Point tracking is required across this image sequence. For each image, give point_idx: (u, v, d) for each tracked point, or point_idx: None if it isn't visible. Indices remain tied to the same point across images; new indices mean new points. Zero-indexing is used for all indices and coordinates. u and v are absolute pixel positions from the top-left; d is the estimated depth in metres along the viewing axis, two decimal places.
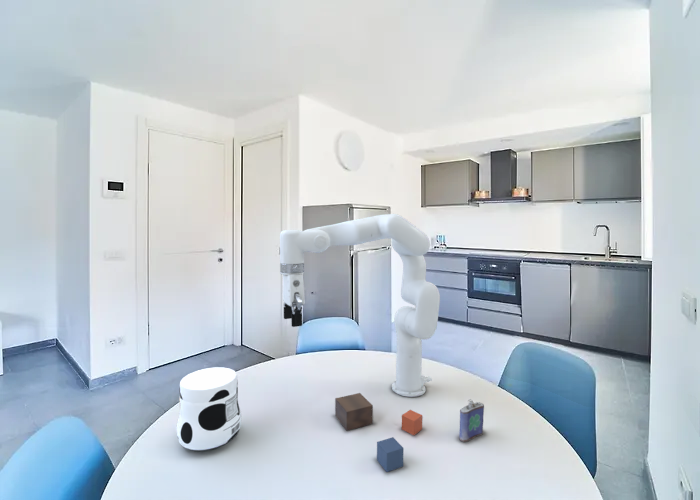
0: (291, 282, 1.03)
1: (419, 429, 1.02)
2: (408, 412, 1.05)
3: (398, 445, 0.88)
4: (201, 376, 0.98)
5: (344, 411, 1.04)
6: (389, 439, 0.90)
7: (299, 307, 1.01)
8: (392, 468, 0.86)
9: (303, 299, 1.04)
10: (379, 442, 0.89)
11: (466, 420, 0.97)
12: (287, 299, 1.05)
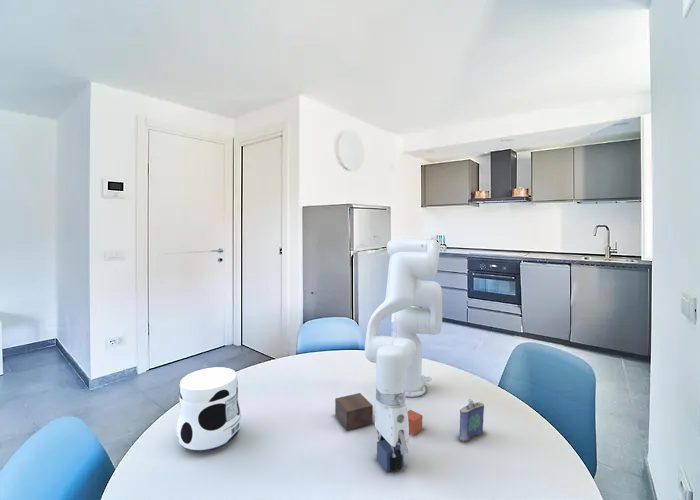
0: (395, 418, 0.83)
1: (419, 429, 1.02)
2: (408, 412, 1.05)
3: None
4: (201, 376, 0.98)
5: (344, 411, 1.04)
6: None
7: (403, 453, 0.83)
8: None
9: (408, 436, 0.84)
10: (379, 442, 0.89)
11: (466, 420, 0.97)
12: (387, 436, 0.85)
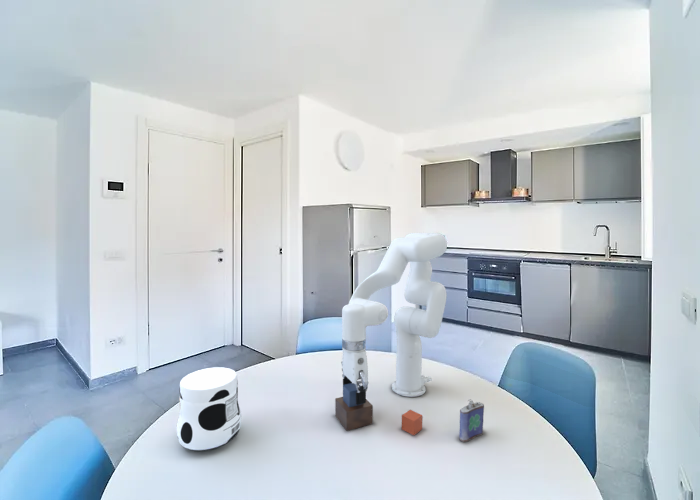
0: (356, 360, 1.02)
1: (419, 429, 1.02)
2: (408, 412, 1.05)
3: (359, 387, 1.07)
4: (201, 376, 0.98)
5: (344, 411, 1.04)
6: (353, 383, 1.10)
7: (365, 387, 1.00)
8: (354, 404, 1.05)
9: (367, 376, 1.04)
10: (344, 385, 1.08)
11: (466, 420, 0.97)
12: (350, 376, 1.04)
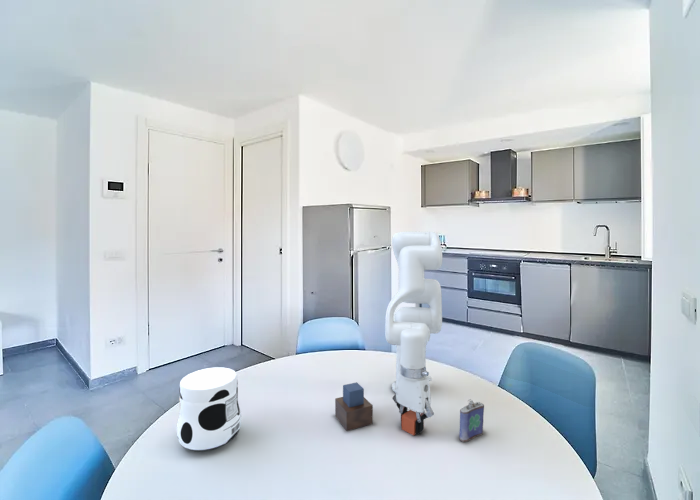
0: (422, 388, 0.98)
1: None
2: (408, 412, 1.05)
3: (360, 387, 1.07)
4: (201, 376, 0.98)
5: (344, 411, 1.04)
6: (353, 383, 1.10)
7: (428, 417, 0.99)
8: (354, 405, 1.05)
9: (430, 402, 1.01)
10: (344, 385, 1.08)
11: (466, 420, 0.97)
12: (414, 405, 1.00)
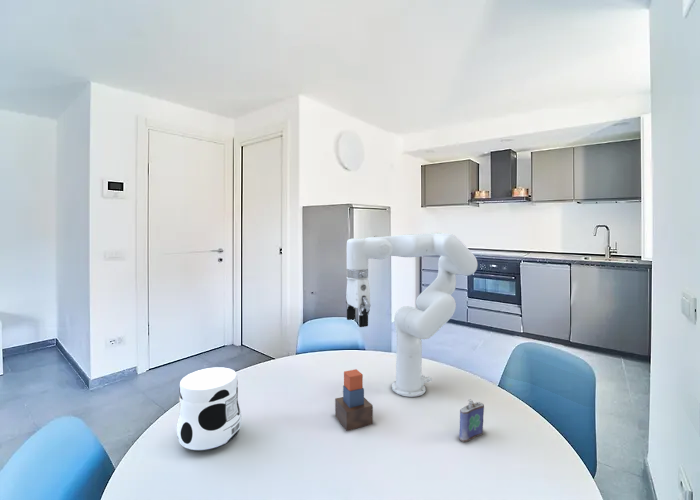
0: (359, 286, 1.13)
1: (358, 387, 1.06)
2: (352, 370, 1.09)
3: None
4: (201, 376, 0.98)
5: (344, 411, 1.04)
6: None
7: (367, 309, 1.11)
8: (354, 405, 1.05)
9: (369, 302, 1.14)
10: None
11: (466, 420, 0.97)
12: (354, 302, 1.15)
